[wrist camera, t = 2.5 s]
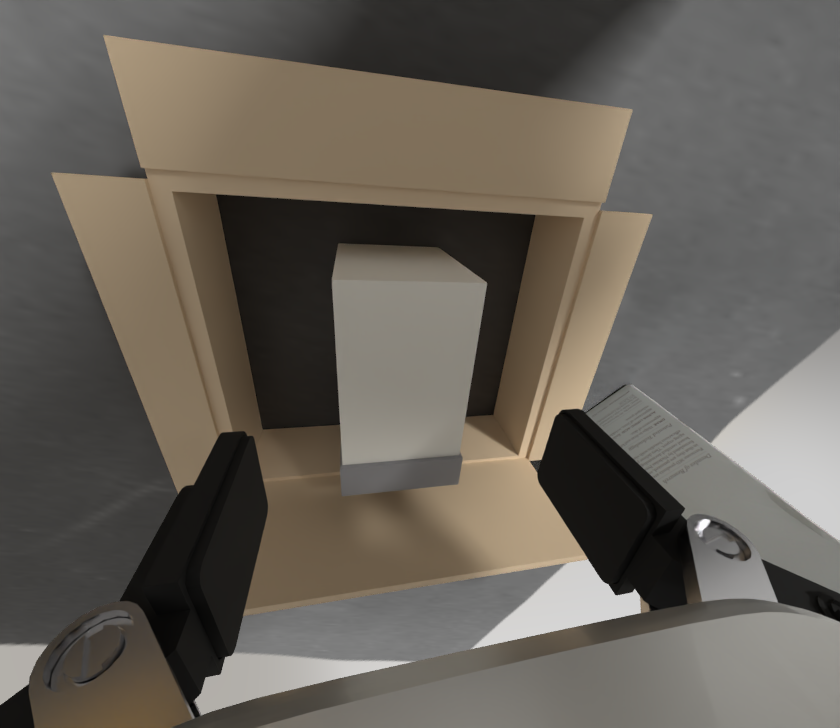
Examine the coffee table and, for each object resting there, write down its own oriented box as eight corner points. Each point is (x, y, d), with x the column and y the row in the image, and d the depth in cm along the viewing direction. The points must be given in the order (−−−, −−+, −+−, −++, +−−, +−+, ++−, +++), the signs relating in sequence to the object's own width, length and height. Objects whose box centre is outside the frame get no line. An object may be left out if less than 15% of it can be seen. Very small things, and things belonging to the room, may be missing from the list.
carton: (99, 69, 12) (-570, -236, 3) (610, 132, 16) (919, 73, 7) (210, 440, 20) (105, 638, 11) (530, 419, 24) (632, 552, 15)
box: (336, 243, 16) (327, 281, 10) (440, 247, 17) (492, 284, 11) (343, 400, 20) (341, 496, 14) (426, 396, 21) (458, 484, 15)
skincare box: (660, 436, 28) (926, 653, 15) (598, 477, 29) (797, 712, 16) (625, 377, 24) (947, 604, 11) (556, 427, 25) (775, 686, 12)
